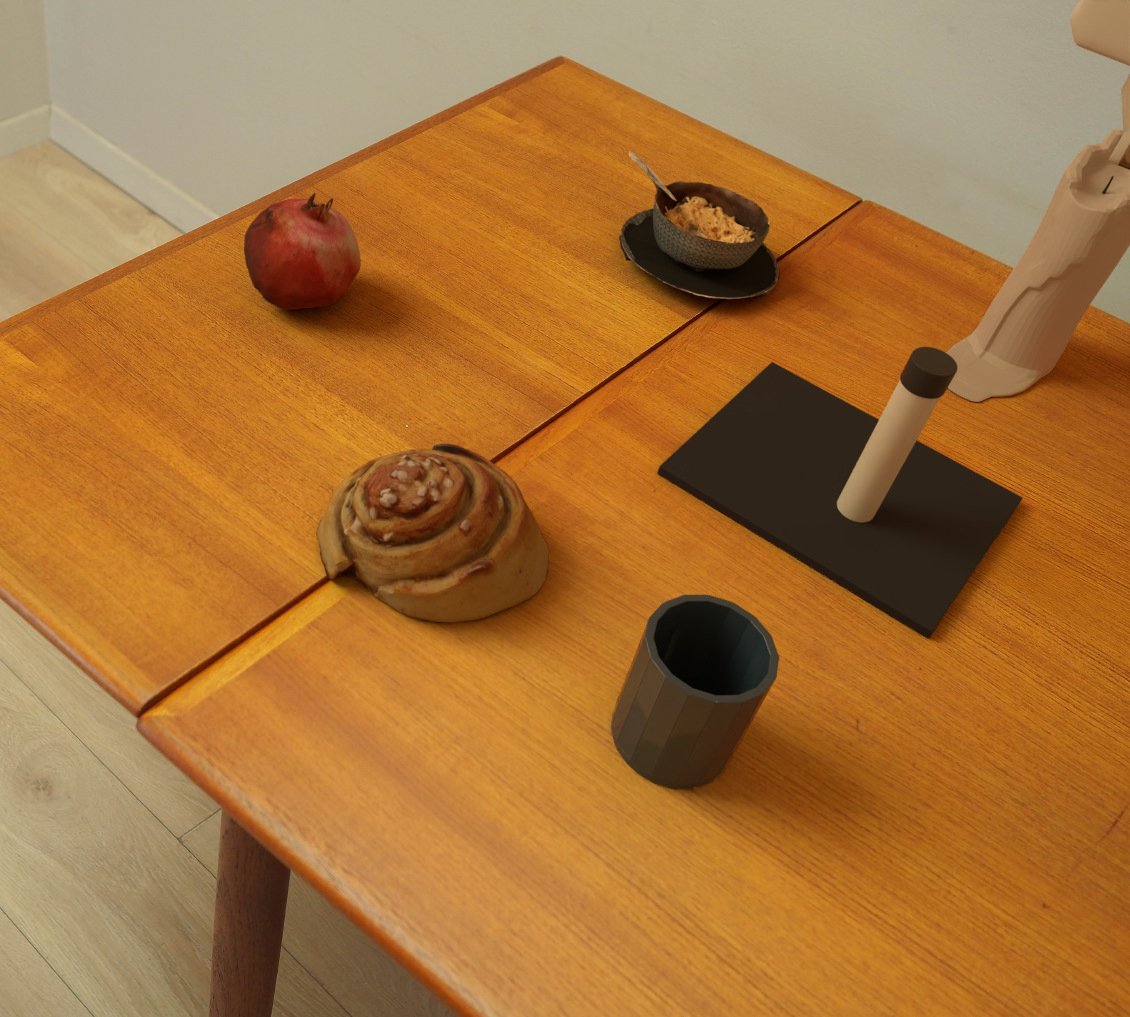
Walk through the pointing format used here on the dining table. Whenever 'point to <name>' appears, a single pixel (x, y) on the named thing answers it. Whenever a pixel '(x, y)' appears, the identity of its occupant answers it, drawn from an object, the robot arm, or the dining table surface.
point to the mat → (814, 484)
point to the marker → (896, 432)
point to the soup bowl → (702, 240)
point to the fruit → (301, 254)
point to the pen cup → (693, 690)
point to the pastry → (434, 534)
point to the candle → (1050, 280)
